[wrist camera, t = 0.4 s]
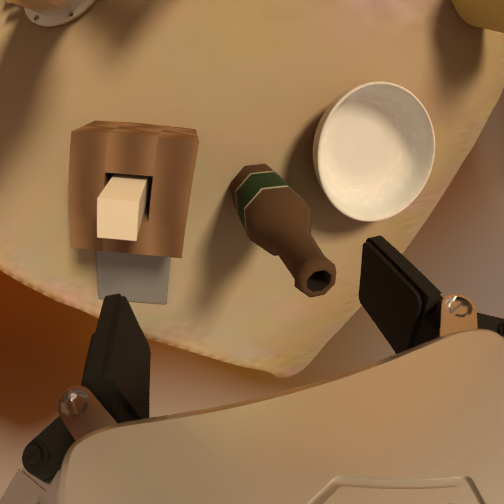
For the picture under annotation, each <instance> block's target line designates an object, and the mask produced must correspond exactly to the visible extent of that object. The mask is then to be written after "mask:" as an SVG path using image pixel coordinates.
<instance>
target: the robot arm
mask: <svg viewBox="0 0 504 504" xmlns="http://www.w3.org/2000/svg"><path fill="white" fill-rule="evenodd" d="M5 1H6V3H14V4H17V5H19V6H22V7H24V11H25V14H26V15H27V17H28V19H30V20H31V21H32V22H33V23H35V24H37V25H40V26H45V27H54V26H59V25H63V24H66V23H68V22H70V21H73V20H74V19H76V18H78V17H79V16H81V15H82V14H83V13H84V12H86V11H87V10H88V9H89V8H90V7H91V6H92V5H93V4H94V3H95V1H96V0H5ZM72 14H73V16H72V17H71V15H72ZM38 18H39V19H38ZM440 294H441V292H440V291H439V290H438V289H437V288H436V287H435V286H434V285H433V284H432V283H431V282H430V281H429V280H428V279H427V278H426V277H425V276H424V275H423V274H422V273H421V272H420V271H419V270H418V269H417V268H416V267H415V266H414V265H413V264H412V263H410V262H409V261H408V260H407V259H406V258H405V257H404V256H403V255H402V254H401V253H400V252H399V251H398V250H396V249H395V248H394V247H393V246H392V245H391V244H390V243H389V242H388V241H387V240H385V239H384V238H383V237H382V236H376V237H371V238H368V239H367V240H366V243H364V244H363V250H362V264H361V276H360V288H359V300H360V303H361V304H362V306H363V307H364V308H365V310H366V311H367V312H368V314H369V315H370V317H371V318H372V320H373V321H374V322H375V323H376V325H377V327H378V328H379V330H380V331H381V332H382V334H383V335H384V337H385V338H386V340H387V341H388V342H389V344H390V345H391V347H392V348H393V350H394V351H395V353H396V354H395V355H393V356H390V357H388V358H385V359H383V360H380V361H377V362H375V363H372V364H369V365H367V366H364V367H361V368H358V369H355V370H352V371H349V372H346V373H343V374H340V375H338V376H334V377H331V378H328V379H325V380H321V381H318V382H315V383H311V384H308V385H305V386H301V387H298V388H294V389H290V390H287V391H283V392H279V393H275V394H271V395H268V396H263V397H259V398H255V399H251V400H246V401H242V402H237V403H233V404H228V405H223V406H218V407H213V408H208V409H202V410H196V411H190V412H185V413H179V414H173V415H166V416H159V417H153V418H149V387H150V355H151V353H150V347H149V344H148V342H147V340H146V338H145V336H144V334H143V332H142V330H141V328H140V326H139V324H138V322H137V320H136V317H135V315H134V313H133V311H132V309H131V307H130V304H129V302H128V300H127V298H126V297H125V296H121V294H119V293H118V294H113V295H108V296H105V298H104V301H103V305H102V309H101V312H100V316H99V320H98V324H97V328H96V332H95V333H94V334H93V335H92V337H91V342H90V345H89V350H88V354H87V358H86V363H85V368H84V373H83V377H82V382H81V386H75V387H71V388H69V389H68V390H66V391H65V392H64V393H63V394H62V395H61V397H60V398H59V401H58V404H57V411H58V413H59V417H58V418H57V419H55V420H54V421H53V422H52V423H51V424H50V425H49V426H48V427H47V428H46V429H44V430H43V431H42V432H41V433H40V434H39V435H38V436H37V437H36V438H34V439H33V440H32V441H31V442H30V443H29V444H28V445H27V446H26V447H25V449H24V452H23V456H22V461H23V465H24V468H23V469H22V470H20V469H18V471H17V472H16V474H15V476H14V477H13V479H12V481H11V482H10V484H9V486H8V487H7V489H6V491H5V493H4V494H3V496H2V498H1V500H0V504H504V319H502V318H498V317H493V316H489V315H485V314H481V313H477V312H476V307H475V304H474V303H473V301H471V300H470V299H469V298H467V297H466V296H464V295H460V294H450V295H447V296H446V297H444V298H443V297H442V296H441V295H440Z"/></svg>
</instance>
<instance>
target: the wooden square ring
mask: <svg viewBox="0 0 504 504" xmlns="http://www.w3.org/2000/svg"><path fill="white" fill-rule="evenodd" d="M198 145H199V140H198V136H197V133H196V130H195V129H187V128H179V127H171V126H161V125H151V124H140V123H127V122H112V121H94V122H91V123H89V124H87V125H85V126H82V127H80V128H78V129H76V130H74V131H72V132H71V144H70V163H69V223H70V242H71V248H76V249H86V250H97V251H108V252H119V253H130V254H141V255H152V256H163V257H175V258H182V250H183V242H184V234H185V227H186V220H187V213H188V206H189V199H190V192H191V186H192V180H193V174H194V168H195V162H196V156H197V150H198ZM115 173H121V174H132V175H144V176H150V183H149V192H148V199H147V203H146V206H145V210H144V214H143V218H142V221H141V225H140V229H139V233H138V237H137V241H131V240H120V239H109V238H98V237H97V198H98V196H99V195H100V193H101V192H102V191H103V189H104V188H105V186H106V185H107V183H108V182H109V181H110V179H111V178H112V176H113V175H114V174H115Z"/></svg>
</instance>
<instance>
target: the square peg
mask: <svg viewBox="0 0 504 504" xmlns="http://www.w3.org/2000/svg"><path fill="white" fill-rule="evenodd" d="M149 183H150V176H144V175H132V174H121V173H115V174H114V175H113V176H112V178H111V179H110V181H109V182H108V183H107V185H106V186H105V188H104V189H103V191H102V192H101V193H100V195H99V196H98V198H97V237H98V238H109V239H120V240H131V241H137V237H138V233H139V229H140V225H141V221H142V218H143V214H144V210H145V206H146V203H147V199H148V192H149Z"/></svg>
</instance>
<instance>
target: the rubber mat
mask: <svg viewBox="0 0 504 504" xmlns="http://www.w3.org/2000/svg"><path fill="white" fill-rule="evenodd" d="M170 258H171V257H163V256H152V255H141V254H130V253H119V252H108V251H97V250H96V263H97V281H98V294H99V298H102V299H104V298H105V296H108V295H113V294H118V293H119V294H121V296H125V297H126V298H127V300H128V301H133V302H145V303H157V304H167V292H168V280H169V268H170Z"/></svg>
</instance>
